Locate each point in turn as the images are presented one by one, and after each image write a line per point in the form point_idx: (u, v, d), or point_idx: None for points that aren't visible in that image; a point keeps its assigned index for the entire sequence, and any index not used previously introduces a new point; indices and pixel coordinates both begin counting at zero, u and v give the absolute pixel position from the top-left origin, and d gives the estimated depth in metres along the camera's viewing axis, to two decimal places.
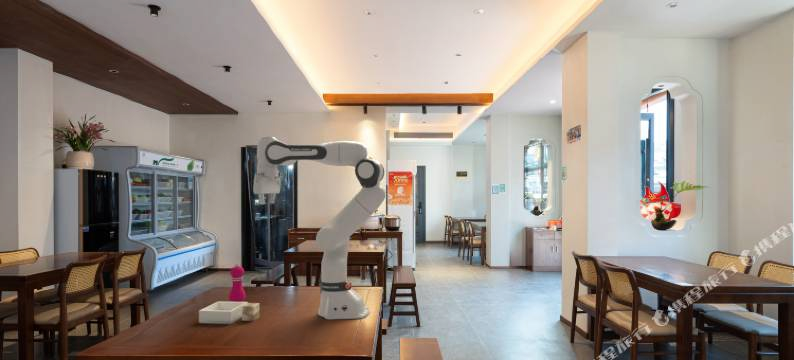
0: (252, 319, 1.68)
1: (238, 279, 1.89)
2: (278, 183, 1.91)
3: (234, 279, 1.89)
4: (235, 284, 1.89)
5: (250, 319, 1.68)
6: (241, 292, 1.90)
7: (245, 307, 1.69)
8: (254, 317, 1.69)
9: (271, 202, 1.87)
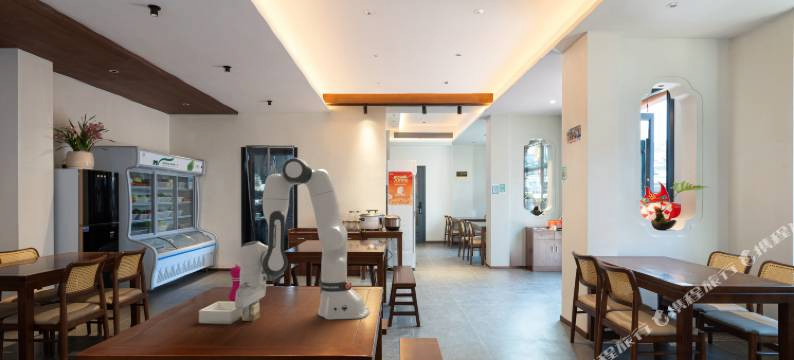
0: (252, 319, 1.68)
1: (238, 279, 1.89)
2: (263, 286, 1.79)
3: (234, 279, 1.89)
4: (235, 284, 1.89)
5: (250, 319, 1.68)
6: None
7: None
8: (254, 316, 1.69)
9: None
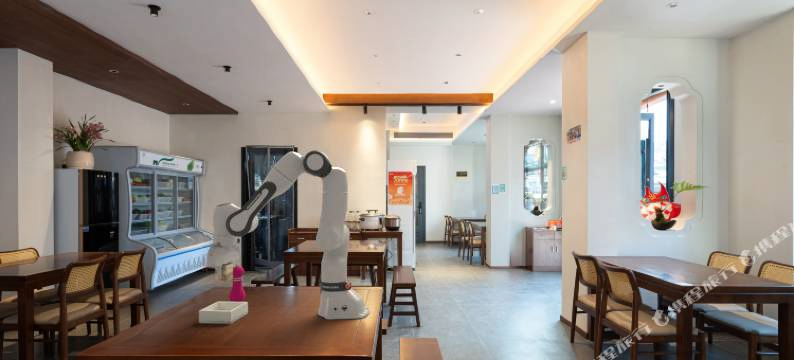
0: (225, 279, 1.70)
1: (238, 279, 1.89)
2: (237, 249, 1.81)
3: (234, 279, 1.89)
4: (235, 284, 1.89)
5: (222, 279, 1.70)
6: (241, 292, 1.90)
7: None
8: (227, 276, 1.71)
9: None
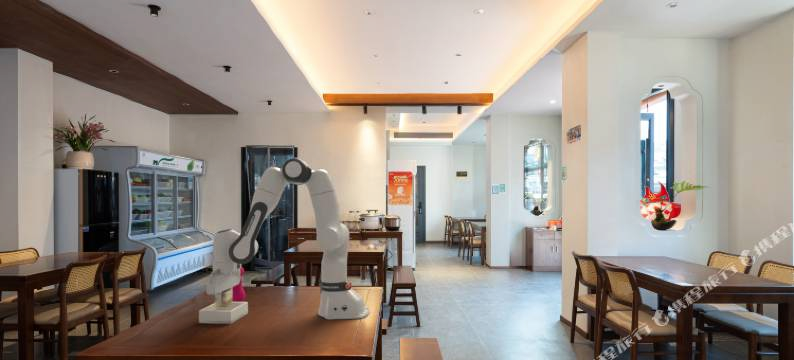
0: (224, 305, 1.70)
1: None
2: (237, 274, 1.80)
3: None
4: None
5: (222, 305, 1.70)
6: (241, 292, 1.90)
7: None
8: (227, 303, 1.71)
9: None
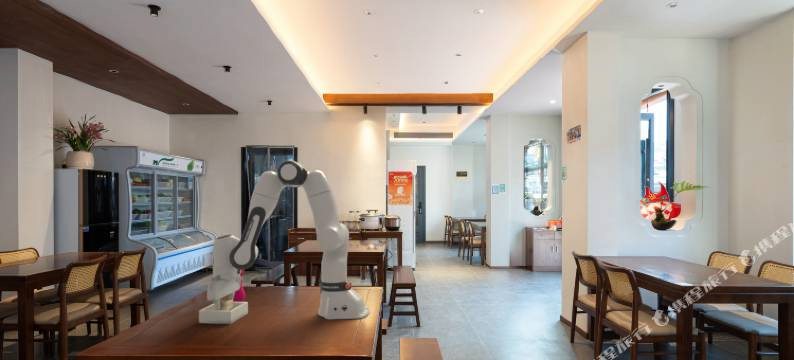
0: None
1: None
2: (237, 280, 1.80)
3: None
4: None
5: None
6: (241, 292, 1.90)
7: None
8: None
9: None
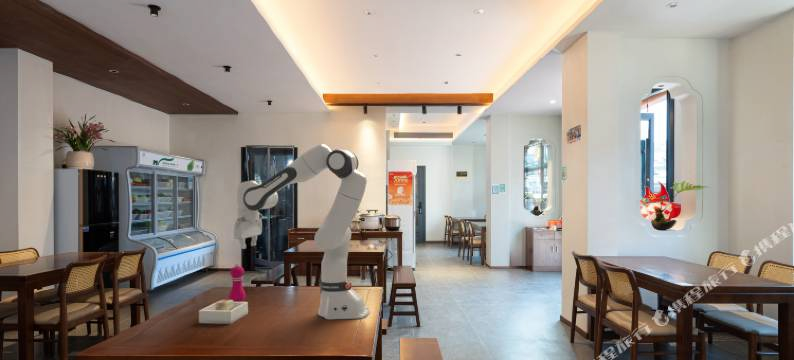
0: None
1: (238, 279, 1.89)
2: (259, 224, 1.92)
3: (234, 279, 1.89)
4: (235, 284, 1.89)
5: None
6: (241, 292, 1.90)
7: (218, 304, 1.70)
8: None
9: (253, 244, 1.88)
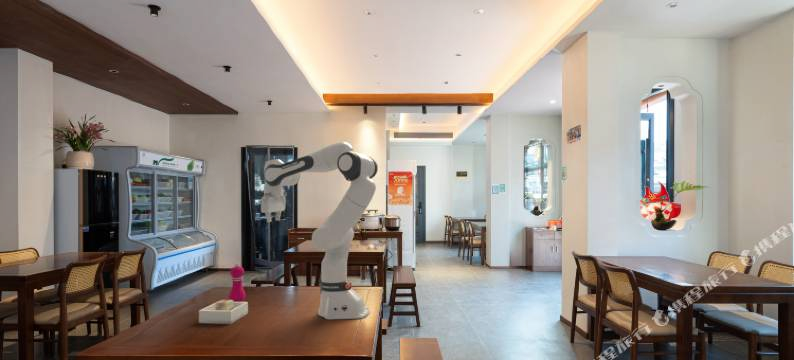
0: None
1: (238, 279, 1.89)
2: (283, 201, 2.05)
3: (234, 279, 1.89)
4: (235, 284, 1.89)
5: None
6: (241, 292, 1.90)
7: (218, 304, 1.70)
8: None
9: (277, 219, 2.01)
